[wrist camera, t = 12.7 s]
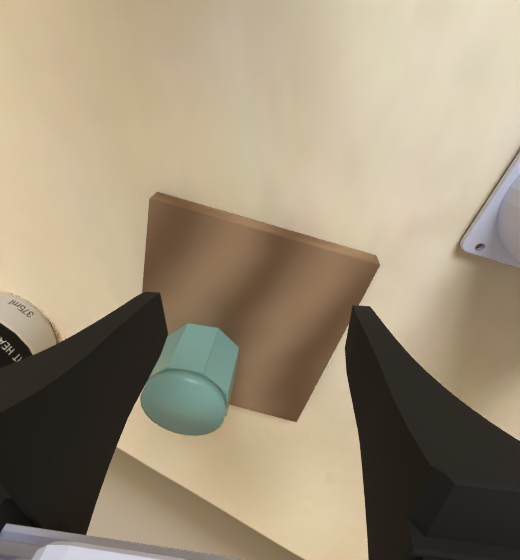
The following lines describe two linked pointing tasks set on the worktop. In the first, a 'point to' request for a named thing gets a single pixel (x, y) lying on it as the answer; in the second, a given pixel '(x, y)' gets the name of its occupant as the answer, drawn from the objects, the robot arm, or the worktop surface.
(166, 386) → the cap
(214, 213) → the stud board
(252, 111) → the worktop surface
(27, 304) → the supplement can
